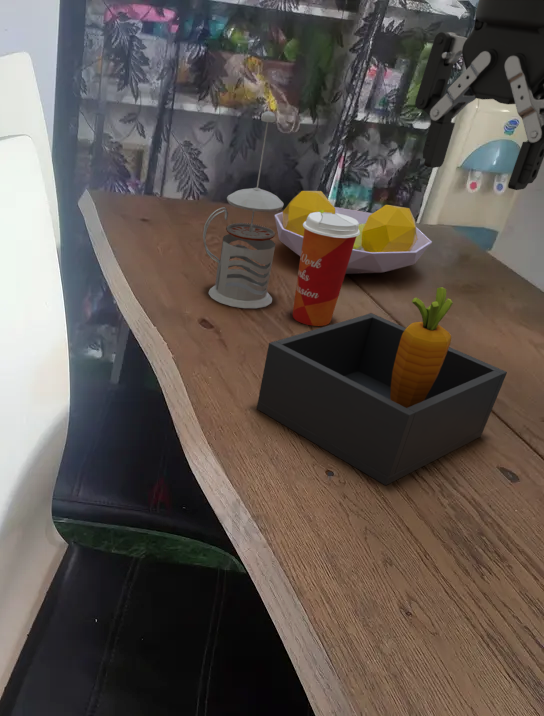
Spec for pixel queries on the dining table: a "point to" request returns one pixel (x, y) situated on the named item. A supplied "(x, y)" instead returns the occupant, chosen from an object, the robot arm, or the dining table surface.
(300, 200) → the fruit bowl
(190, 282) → the dining table surface
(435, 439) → the open dark gray box
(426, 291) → the dining table surface
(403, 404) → the carrot
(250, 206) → the french press
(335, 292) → the paper cup
